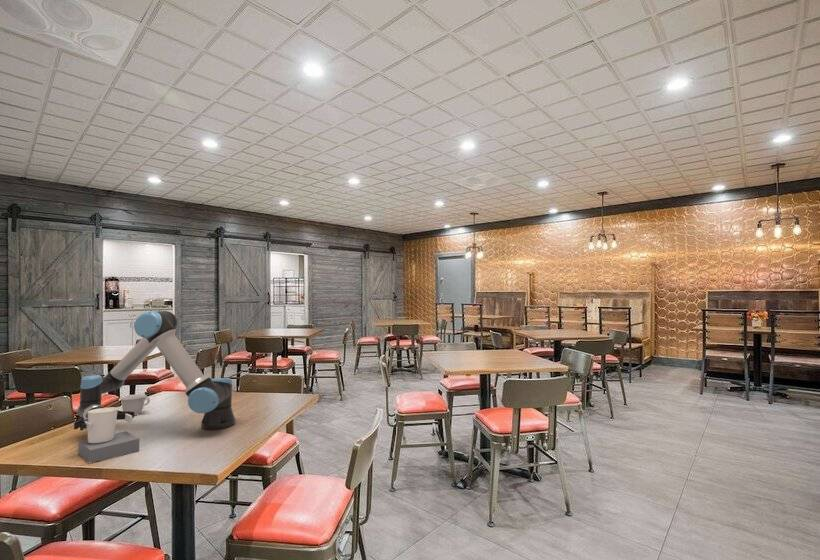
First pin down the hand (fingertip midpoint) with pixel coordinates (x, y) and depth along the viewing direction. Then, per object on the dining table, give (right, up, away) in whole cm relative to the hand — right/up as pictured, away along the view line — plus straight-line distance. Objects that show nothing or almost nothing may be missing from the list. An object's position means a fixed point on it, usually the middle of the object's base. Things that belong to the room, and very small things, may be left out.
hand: (111, 423), depth 158 cm
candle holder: (-4, -7, 0) cm, 8 cm away
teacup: (-30, -16, +57) cm, 66 cm away
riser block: (-2, -12, +1) cm, 12 cm away
